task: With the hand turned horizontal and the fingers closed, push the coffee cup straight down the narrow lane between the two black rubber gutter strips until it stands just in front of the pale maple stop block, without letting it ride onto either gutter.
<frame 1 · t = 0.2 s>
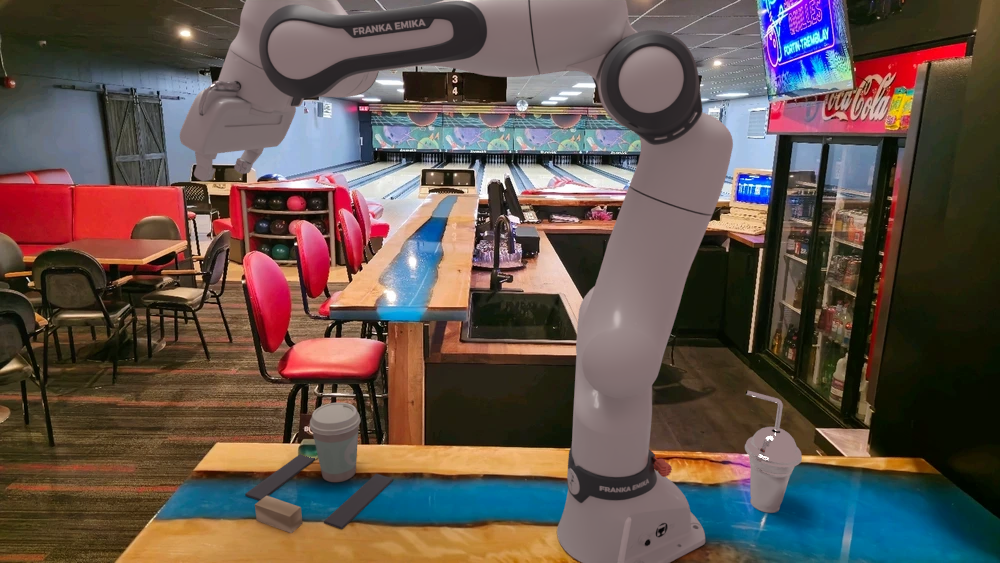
hand: (222, 174, 87), 54 cm above the bar counter, tool tilted 25°, fingers open, 8 cm apart
cup with straw: (763, 504, 103), on the bar counter
gutter strips: (320, 487, 106), on the bar counter
coffee cup: (339, 473, 111), on the bar counter
maple stop block: (279, 522, 98), on the bar counter
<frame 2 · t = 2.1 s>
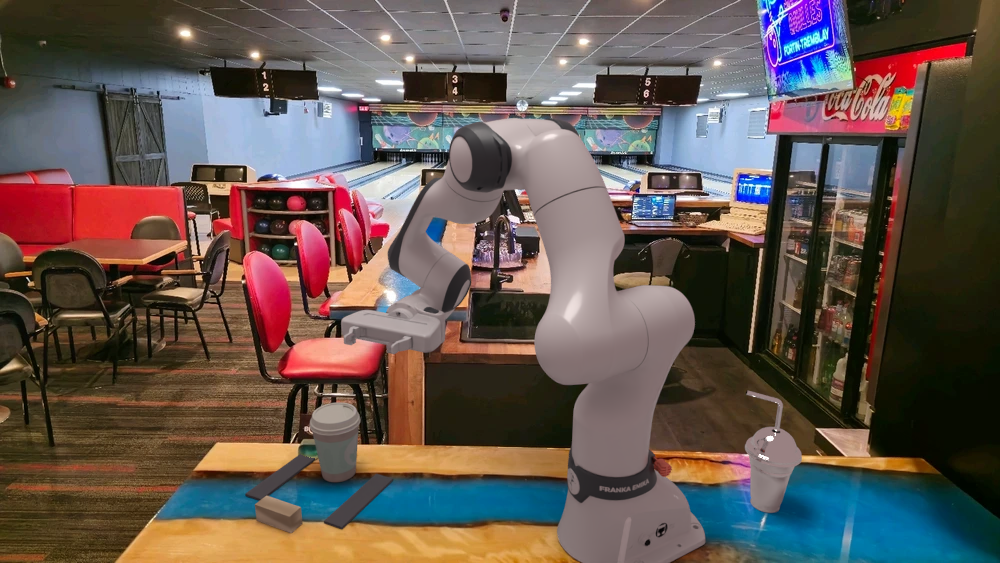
hand: (367, 345, 114), 20 cm above the bar counter, tool horizontal, fingers open, 8 cm apart
nothing on the bar counter moved.
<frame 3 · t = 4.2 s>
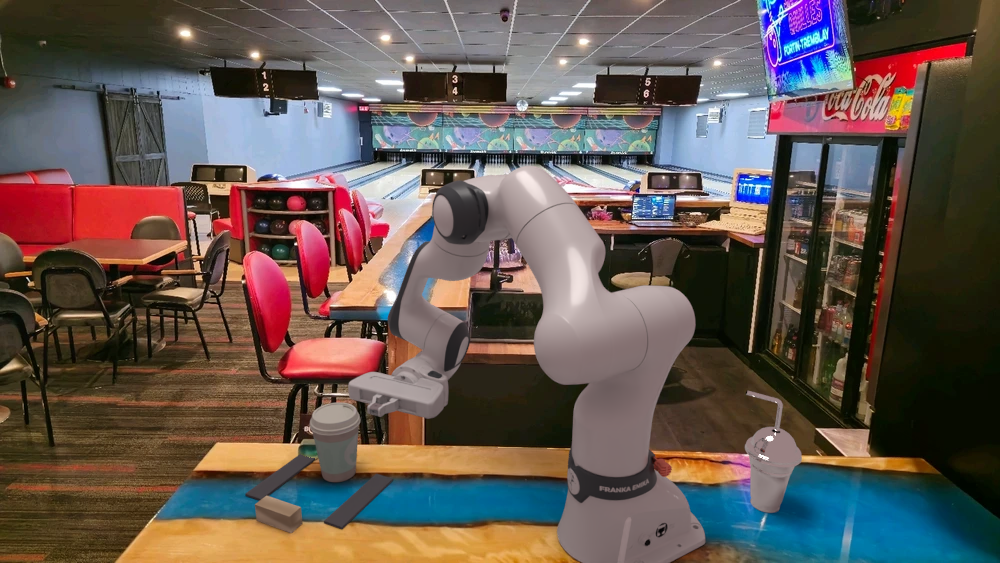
hand: (373, 411, 119), 6 cm above the bar counter, tool horizontal, fingers closed
nothing on the bar counter moved.
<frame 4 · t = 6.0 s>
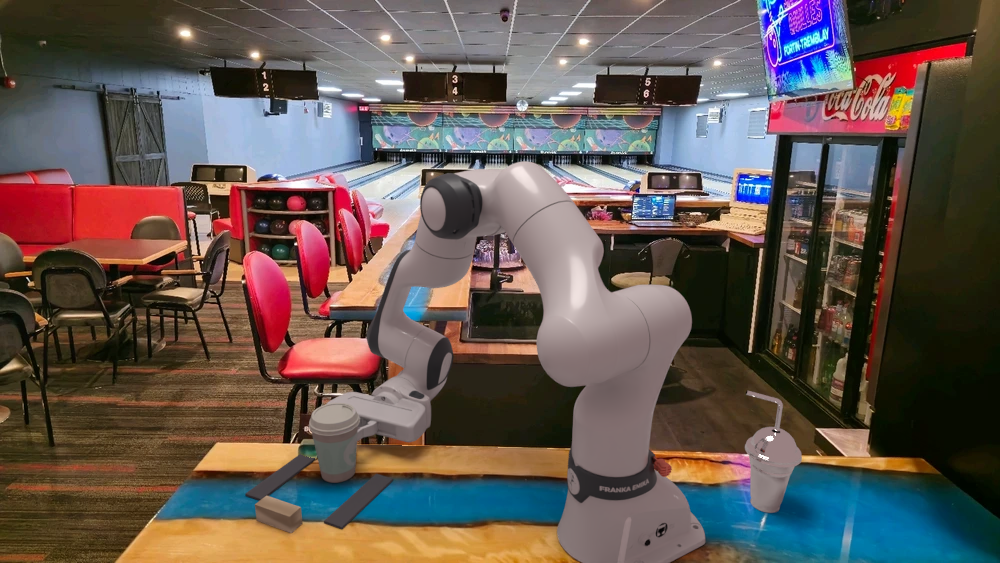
hand: (350, 435, 112), 5 cm above the bar counter, tool horizontal, fingers closed, pressing on coffee cup
coffee cup: (338, 474, 110), on the bar counter, touching gripper
everything else where it was.
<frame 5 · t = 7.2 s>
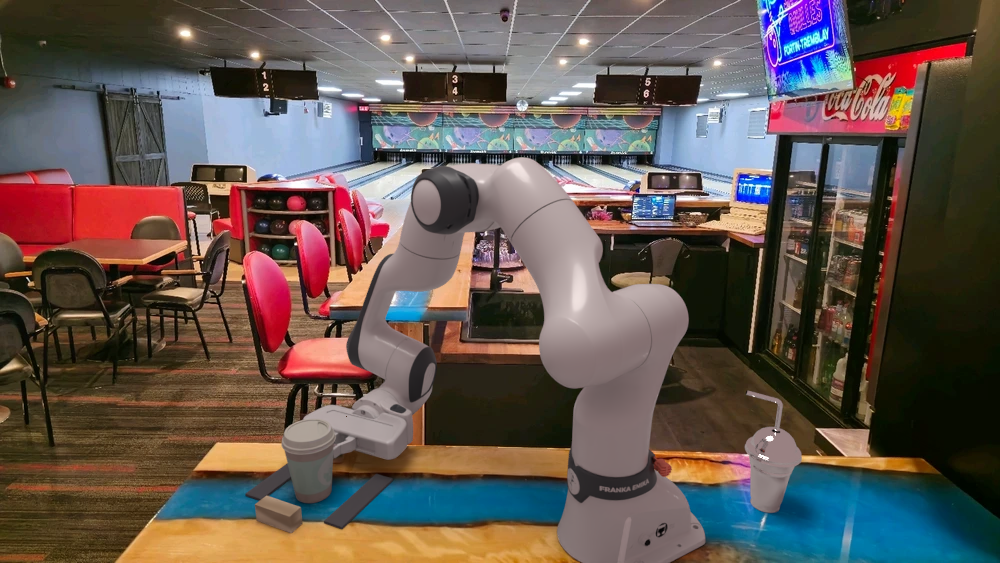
hand: (326, 452, 107), 6 cm above the bar counter, tool horizontal, fingers closed, pressing on coffee cup
coffee cup: (313, 493, 105), on the bar counter, touching gripper
everything else where it was.
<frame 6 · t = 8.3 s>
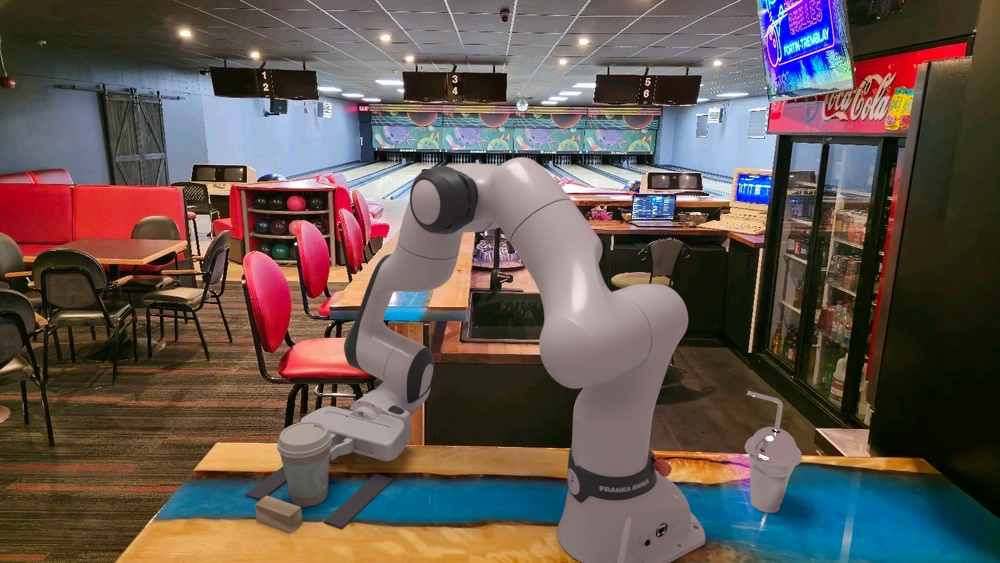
hand: (324, 454, 106), 6 cm above the bar counter, tool horizontal, fingers closed
coffee cup: (309, 497, 104), on the bar counter
everything else where it was.
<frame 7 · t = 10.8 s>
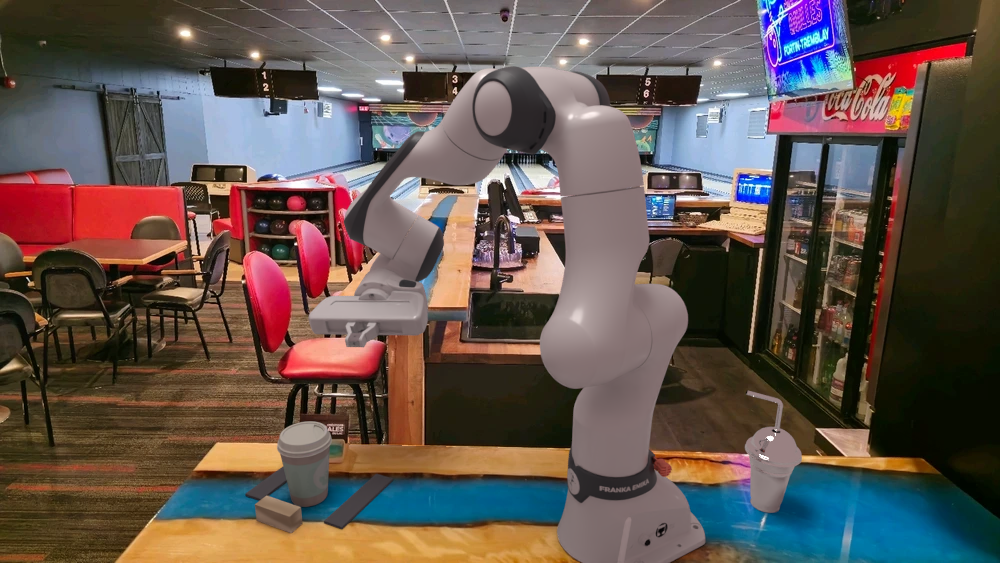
hand: (354, 344, 100), 26 cm above the bar counter, tool horizontal, fingers closed
nothing on the bar counter moved.
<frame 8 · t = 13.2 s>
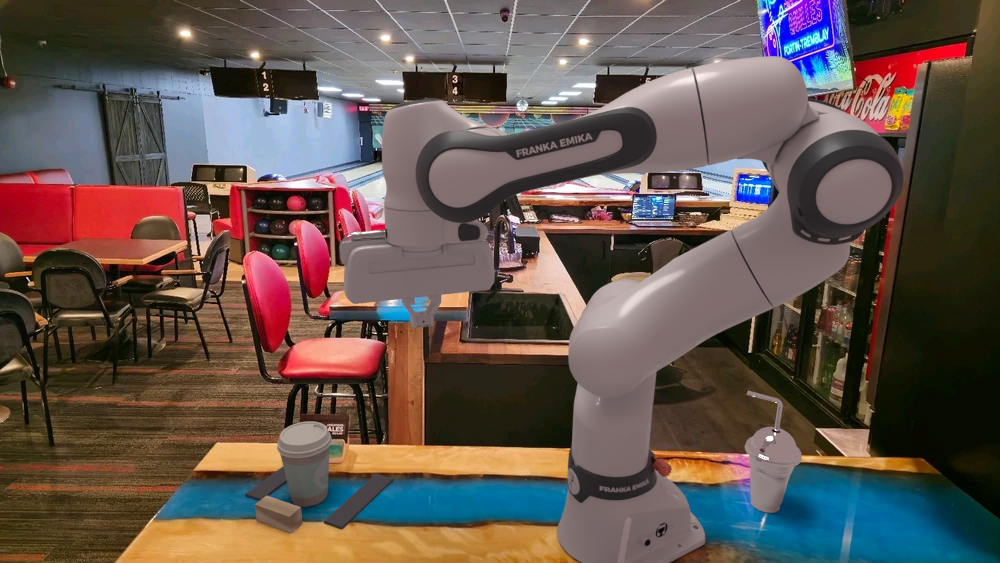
hand: (422, 325, 86), 34 cm above the bar counter, tool pointing down, fingers closed
nothing on the bar counter moved.
at the end: coffee cup inside the target area (1.4 cm from its centre), on the bar counter; coffee cup tilted 0°; coffee cup touching bar counter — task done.
